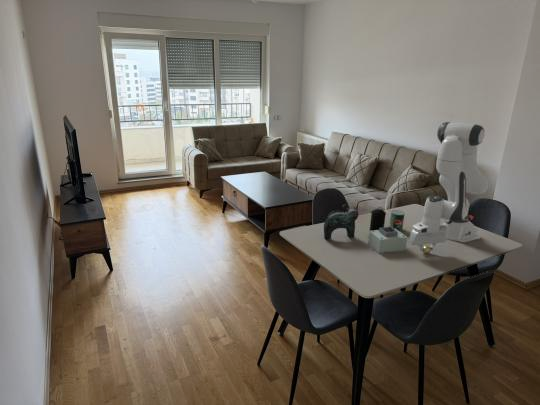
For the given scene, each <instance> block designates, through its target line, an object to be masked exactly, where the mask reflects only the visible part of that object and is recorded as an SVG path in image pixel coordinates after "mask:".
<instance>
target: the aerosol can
mask: <svg viewBox="0 0 540 405" xmlns="http://www.w3.org/2000/svg"><path fill="white" fill-rule="evenodd" d="M370 213H371V215H370V216H371V217H370V224H369V231H372V230H379V228H382V227H385V224H386V221H385V220H386V215H387V212H385V210H383V209H382V205H379V204H378V205H377V208H375V209H373V210H371V211H370ZM367 238H369V235H368V237H367Z"/></svg>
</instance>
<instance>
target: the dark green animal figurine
mask: <svg viewBox="0 0 540 405" xmlns="http://www.w3.org/2000/svg"><path fill="white" fill-rule="evenodd" d="M344 207H346V208H345V209H346V211H340V210H334V211H331V212H330V213H329V214H328V215H327V217H326V220H325V221H324V223H323V236H324V239H325V240H326V241H327V240H331V239H332V235H333V233H334V232H335V230H338V229H345V230H346V236H347V237H348V238H350V239H351V238H355V233H356V232H355V230H356V220H358V218H359V212H358V210H357V208H356V206H353V208H349V205H348V204H343V205H342V208H344Z"/></svg>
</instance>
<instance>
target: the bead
mask: <svg viewBox="0 0 540 405" xmlns="http://www.w3.org/2000/svg"><path fill="white" fill-rule="evenodd" d="M422 247H423V248H424V251H422V253H423V254H425V255H428V254H430V252H431V251H430V248H429V246H427V245H425V246H422Z"/></svg>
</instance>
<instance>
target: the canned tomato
mask: <svg viewBox="0 0 540 405" xmlns="http://www.w3.org/2000/svg"><path fill="white" fill-rule="evenodd" d="M404 220H405V212H404V211H402V210H398V209H397V210H391V211H390V219H389V224H388V227H392V228H393V229H397V230H398V231H399V232H402V231H403V226H404Z"/></svg>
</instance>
